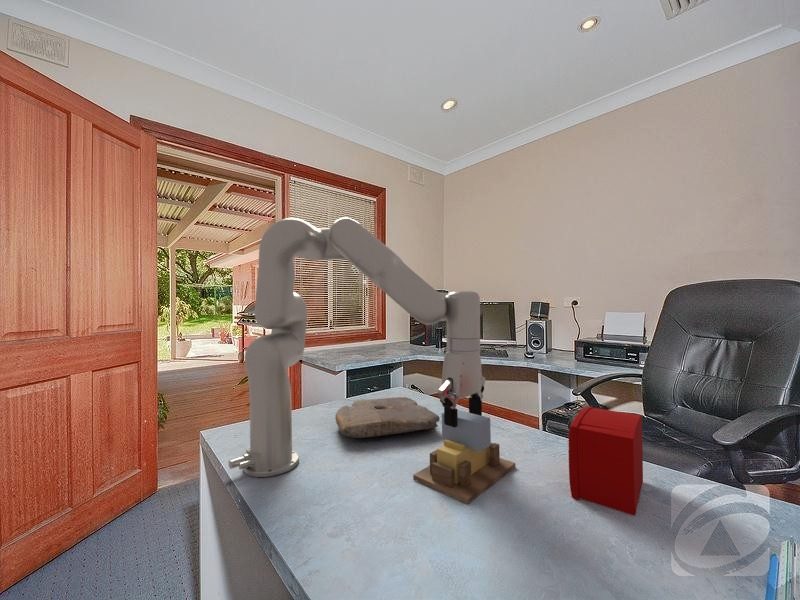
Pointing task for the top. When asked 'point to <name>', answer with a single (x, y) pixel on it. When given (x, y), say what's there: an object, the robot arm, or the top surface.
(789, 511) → the top surface
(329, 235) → the robot arm
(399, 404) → the stone slab
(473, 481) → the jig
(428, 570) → the top surface
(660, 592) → the top surface
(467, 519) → the top surface
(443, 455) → the tan toy brick
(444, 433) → the grey rectangular block
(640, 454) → the fire alarm
